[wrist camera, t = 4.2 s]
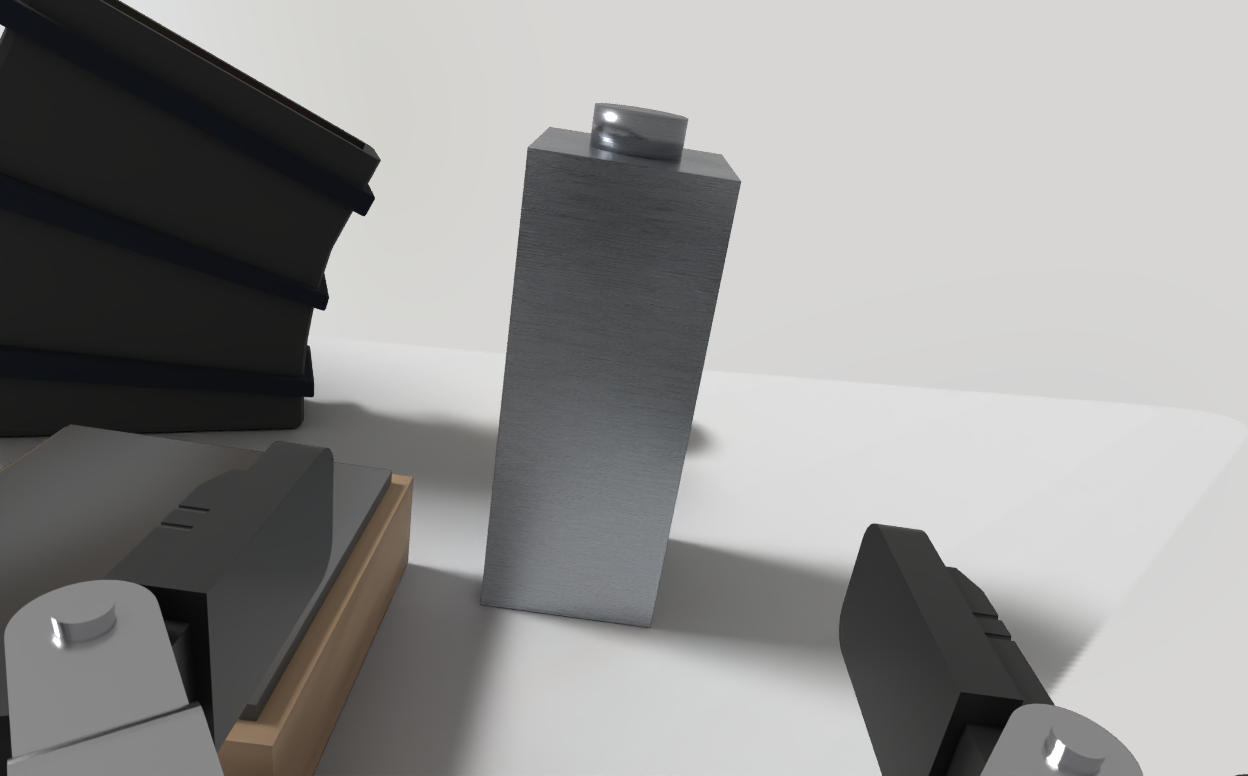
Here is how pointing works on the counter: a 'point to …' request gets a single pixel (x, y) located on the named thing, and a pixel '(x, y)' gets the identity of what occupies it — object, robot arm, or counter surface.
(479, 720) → the counter surface
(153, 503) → the stand
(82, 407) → the black ridged block
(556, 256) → the block
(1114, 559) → the counter surface
